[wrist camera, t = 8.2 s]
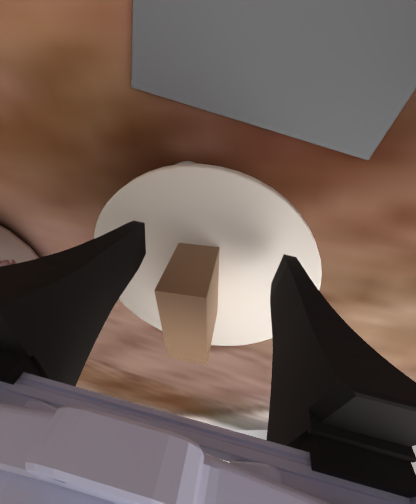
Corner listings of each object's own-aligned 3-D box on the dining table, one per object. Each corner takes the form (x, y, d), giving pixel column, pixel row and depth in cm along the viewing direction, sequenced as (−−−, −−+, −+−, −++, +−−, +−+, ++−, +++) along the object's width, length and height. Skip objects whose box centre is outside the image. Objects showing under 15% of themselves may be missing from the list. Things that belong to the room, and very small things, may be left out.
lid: (359, 172, 11) (411, 225, 7) (290, 350, 20) (296, 414, 16) (68, 156, 13) (-12, 189, 9) (126, 322, 22) (97, 372, 18)
